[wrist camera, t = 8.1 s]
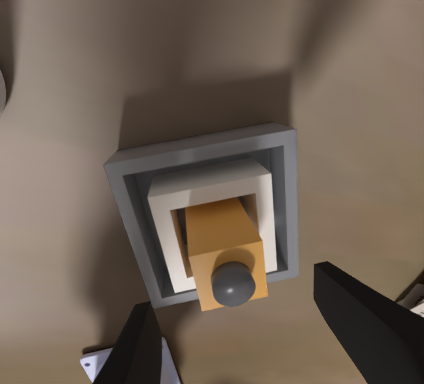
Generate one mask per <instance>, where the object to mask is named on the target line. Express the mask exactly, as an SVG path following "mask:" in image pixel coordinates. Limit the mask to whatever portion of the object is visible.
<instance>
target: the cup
mask: <svg viewBox="0 0 424 384" xmlns="http://www.w3.org/2000/svg"><path fill="white" fill-rule="evenodd" d="M5 102H6V88H5V82H4V78H3V75H2V72H1V70H0V117H1V115H2V113H3V110H4V107H5Z"/></svg>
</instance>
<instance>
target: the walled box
mask: <svg viewBox="0 0 424 384" xmlns="http://www.w3.org/2000/svg"><path fill="white" fill-rule="evenodd" d="M103 166H104V169H105V172H106V174H107V177H108V180H109V183H110V186H111V189H112V192H113V194H114V197H115V200H116V203H117V206H118V209H119V212H120V215H121V217H122V220H123V223H124V226H125V229H126V232H127V235H128V237H129V240H130V243H131V246H132V249H133V252H134V255H135V258H136V260H137V263H138V266H139V269H140V272H141V275H142V278H143V280H144V283H145V286H146V289H147V292H148V295H149V298H150V300H151V303H152V306H153V309H156V308H161V307H165V306H169V305H174V304H178V303H183V302H187V301H191V300H196V299H199V297H198V293H197V289H196V285H195V281H194V277H193V273H192V269H191V265H190V260H189V255H188V242H187V229H186V216H185V207H189V206H194V205H199V204H204V203H209V202H214V201H218V200H223V199H228V198H233V197H238V199H239V201H240V203H241V204H242V206H243V208H244V209H245V211H246V213H247V215H248V216H249V218H250V220H251V221H252V223H253V225H254V227H255V228H256V230H257V232H258V233H259V235H260V237H261V239H262V240H263V249H264V260H265V271H266V282H267V283H271V282H275V281H279V280H284V279H288V278H293V277H297V276H299V260H298V190H297V129H295V128H292V127H289V126H286V125H282V124H279V123H276V122H271V123H265V124H260V125H254V126H249V127H243V128H238V129H232V130H227V131H221V132H216V133H210V134H205V135H199V136H194V137H188V138H183V139H177V140H172V141H166V142H161V143H155V144H150V145H145V146H139V147H134V148H128V149H123V150H117V151H116V152H115V153H114V154H113V155H112V156H111V157H110V158H109V159H108V160H107V161H106V162H105V163H104V164H103Z"/></svg>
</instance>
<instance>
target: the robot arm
mask: <svg viewBox="0 0 424 384" xmlns="http://www.w3.org/2000/svg"><path fill="white" fill-rule="evenodd" d="M314 300H315V302H316V304H317V306H318V308H319V310H320V312H321V314H322V316H323V317H324V319H325V321H326V323H327V324H328V326H329V327H330V329H331V330H332V332H333V333H334V335H335V336H336V338H337V339H338V341H339V342H340V343H341V345H342V346H343V348H344V349H345V351H346V352H347V354H348V355H349V357H350V358H351V360H352V361H353V362H354V364H355V365H356V367H357V368H358V370H359V371H360V373H361V374H362V376H363V377H364V379H365V380H366V382H367V383H368V384H424V317H422V316H420V315H418V314H416V313H414V312H412V311H410V310H409V309H407V308H405V307H403V306H401V305H399V304H398V303H396V302H394V301H392V300H390V299H389V298H387V297H385V296H383V295H382V294H380V293H378V292H377V291H375V290H373V289H372V288H370V287H368V286H367V285H365V284H363V283H362V282H360V281H358V280H357V279H355V278H354V277H352V276H350V275H349V274H347V273H346V272H344V271H342V270H341V269H339V268H338V267H336V266H334V265H333V264H331V263H330V262H328V261H326V262H321V263H317V264H314ZM80 363H81V364H82V366H83V368H84V369H85V371H86V373H87V375H88V376H89V378H90V380H91V381H92V384H181V383H180V380H179V377H178V374H177V371H176V369H175V366H174V363H173V360H172V357H171V354H170V351H169V348H168V345H167V343H166V340H165V338H164V337H162V333H161V331H160V328H159V325H158V322H157V319H156V316H155V313H154V310H153V308H152V305H151V302H150V301H149V302H145V303H140V304H136V305H135V306H134V308H133V310H132V312H131V314H130V316H129V318H128V320H127V322H126V324H125V326H124V328H123V330H122V332H121V334H120V336H119V338H118V340H117V341H116V343H115V345H114V347H113V348H109V349H105V350H101V351H96V352H92V353H88V354H84V355H82V356H81V359H80Z"/></svg>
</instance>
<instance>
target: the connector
mask: <svg viewBox="0 0 424 384" xmlns="http://www.w3.org/2000/svg"><path fill="white" fill-rule="evenodd" d="M185 216H186V229H187V242H188V255H189V260H190V265H191V269H192V273H193V277H194V281H195V285H196V289H197V293H198V297H199V301H200V305H201V309H202V311H206V310H211V309H215V308H219V307H223V306H229V307H232V306H238V305H241V304H243V303H245V302H247V301H249V300H253V299H257V298H262V297H266V296H268V293H267V282H266V271H265V260H264V249H263V240H262V239H261V237H260V235H259V233H258V232H257V230H256V228H255V227H254V225H253V223H252V221H251V220H250V218H249V216H248V215H247V213H246V211H245V209H244V208H243V206H242V204H241V203H240V201H239V199H238V197H233V198H228V199H223V200H218V201H214V202H209V203H204V204H199V205H194V206H189V207H185Z"/></svg>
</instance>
